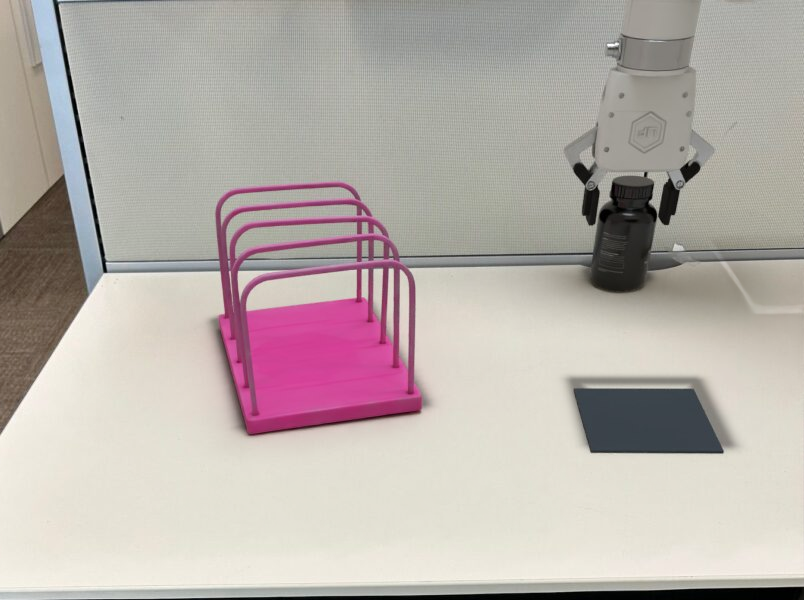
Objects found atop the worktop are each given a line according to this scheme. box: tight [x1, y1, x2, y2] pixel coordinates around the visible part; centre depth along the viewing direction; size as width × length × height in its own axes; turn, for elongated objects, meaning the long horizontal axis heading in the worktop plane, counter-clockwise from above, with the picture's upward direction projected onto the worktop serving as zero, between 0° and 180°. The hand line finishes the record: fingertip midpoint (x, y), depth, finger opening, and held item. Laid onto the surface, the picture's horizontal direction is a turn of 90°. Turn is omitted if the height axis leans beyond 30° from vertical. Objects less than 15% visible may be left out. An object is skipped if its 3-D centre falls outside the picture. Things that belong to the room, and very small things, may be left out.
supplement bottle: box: [589, 174, 658, 293], centre depth 111 cm, size 7×7×12 cm
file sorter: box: [214, 180, 423, 435], centre depth 94 cm, size 17×25×16 cm
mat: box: [573, 387, 725, 454], centre depth 89 cm, size 12×12×1 cm
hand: (626, 220), depth 110 cm, fingers open, 8 cm apart
